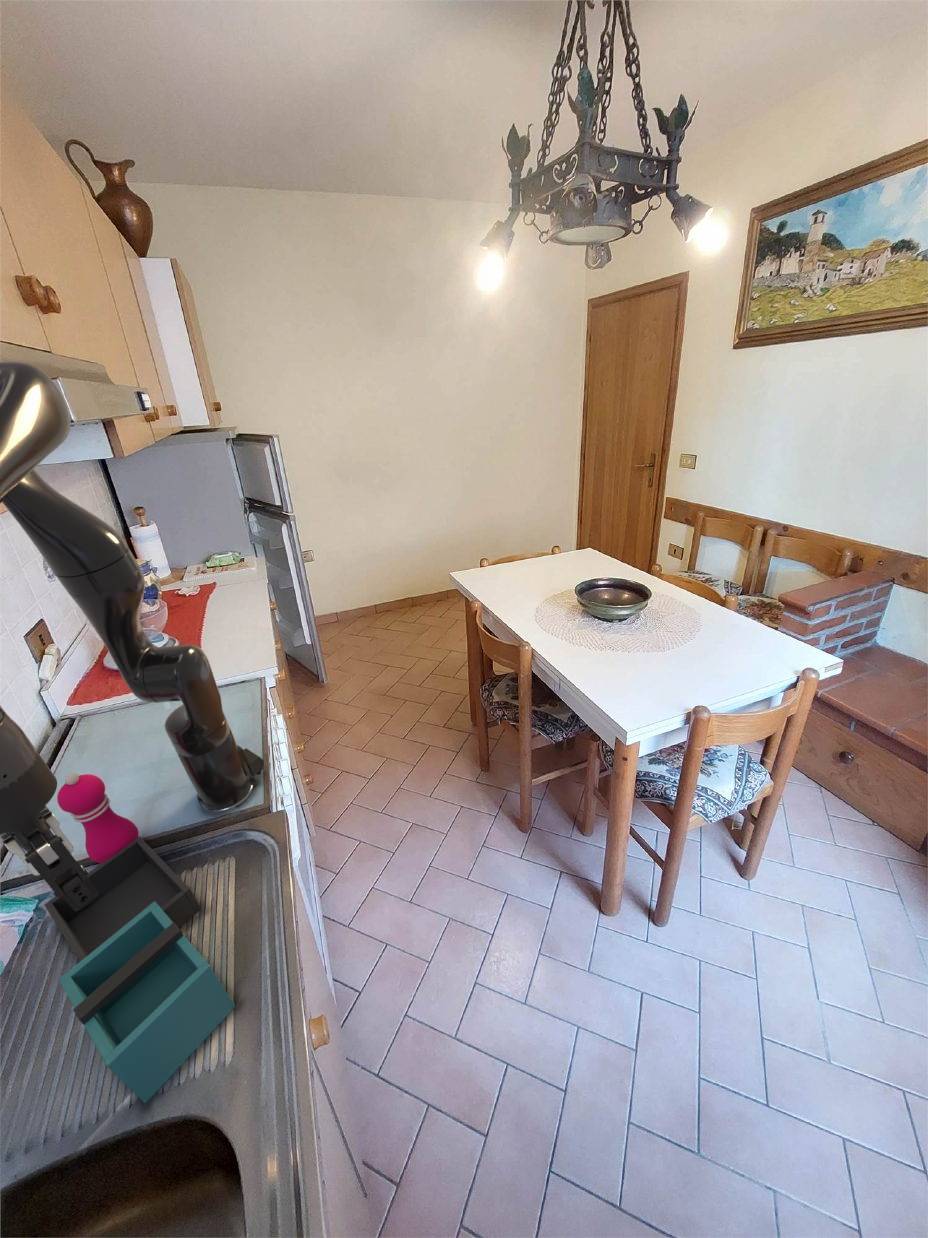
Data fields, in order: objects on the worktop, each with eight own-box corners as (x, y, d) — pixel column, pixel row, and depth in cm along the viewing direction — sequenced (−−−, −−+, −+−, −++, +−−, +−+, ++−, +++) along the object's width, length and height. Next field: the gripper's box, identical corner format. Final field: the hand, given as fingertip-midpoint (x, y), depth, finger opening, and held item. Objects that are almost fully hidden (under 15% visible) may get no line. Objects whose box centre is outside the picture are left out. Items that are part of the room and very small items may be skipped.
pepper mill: (125, 880, 81) (67, 795, 72) (89, 874, 83) (28, 791, 73) (157, 841, 87) (107, 759, 78) (123, 837, 89) (70, 755, 79)
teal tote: (181, 941, 72) (151, 895, 66) (235, 1006, 64) (206, 960, 58) (95, 1019, 64) (53, 974, 58) (145, 1104, 56) (101, 1061, 51)
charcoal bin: (153, 858, 84) (139, 836, 82) (203, 911, 75) (189, 888, 73) (62, 927, 75) (43, 904, 72) (107, 997, 66) (87, 974, 63)
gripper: (60, 775, 43) (138, 886, 51) (9, 720, 51) (83, 824, 59) (-51, 840, 38) (54, 952, 46) (-89, 767, 45) (7, 874, 53)
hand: (70, 880), depth 52 cm, fingers open, 8 cm apart
